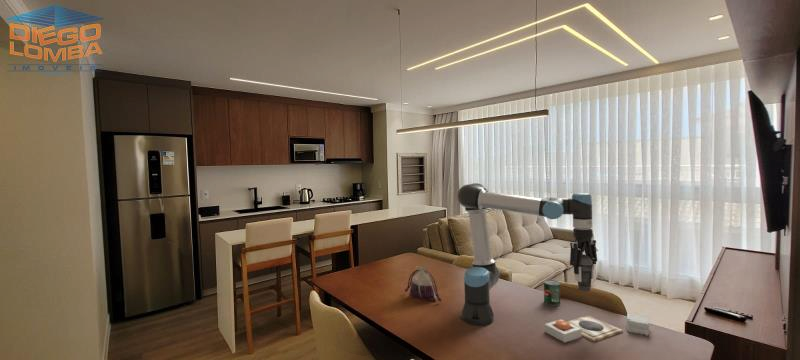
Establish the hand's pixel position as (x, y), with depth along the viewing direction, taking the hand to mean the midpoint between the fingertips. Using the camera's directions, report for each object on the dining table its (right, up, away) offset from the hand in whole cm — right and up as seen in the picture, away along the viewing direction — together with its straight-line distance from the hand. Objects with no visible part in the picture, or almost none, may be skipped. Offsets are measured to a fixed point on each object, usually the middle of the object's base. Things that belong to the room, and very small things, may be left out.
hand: (584, 279), depth 147 cm
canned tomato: (-1, -21, +28) cm, 36 cm away
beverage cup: (0, -5, 0) cm, 5 cm away
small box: (+22, -22, -2) cm, 31 cm away
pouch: (-69, -23, +39) cm, 83 cm away
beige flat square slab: (+3, -22, 0) cm, 22 cm away
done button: (-12, -19, -5) cm, 23 cm away
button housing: (-12, -22, -5) cm, 26 cm away
